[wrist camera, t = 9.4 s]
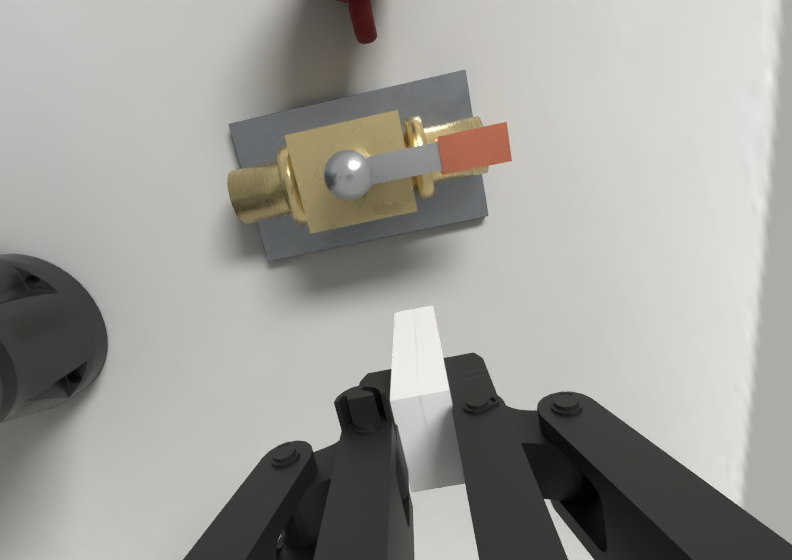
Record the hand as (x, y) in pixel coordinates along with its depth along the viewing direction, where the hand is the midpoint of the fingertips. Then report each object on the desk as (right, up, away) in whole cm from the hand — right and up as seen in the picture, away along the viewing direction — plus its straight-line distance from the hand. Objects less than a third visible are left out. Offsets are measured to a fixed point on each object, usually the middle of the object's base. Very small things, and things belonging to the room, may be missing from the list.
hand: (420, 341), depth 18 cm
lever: (0, +11, +14) cm, 18 cm away
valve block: (-4, +12, +22) cm, 25 cm away
